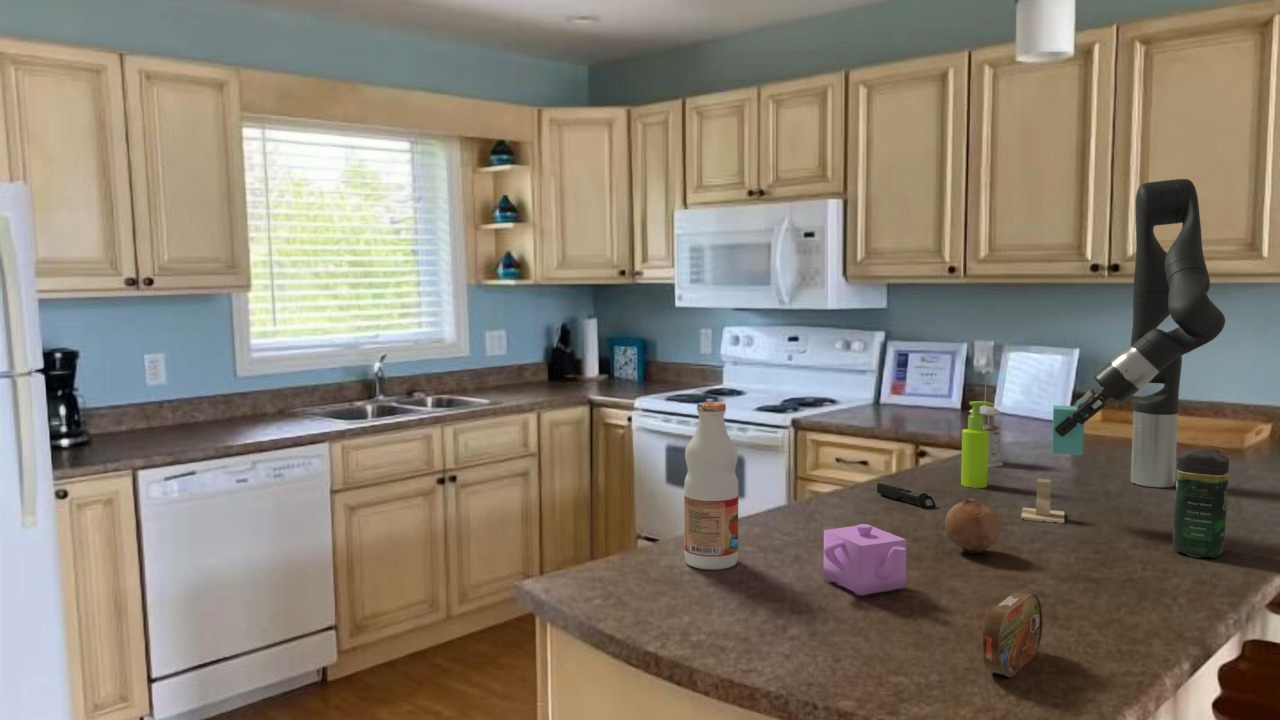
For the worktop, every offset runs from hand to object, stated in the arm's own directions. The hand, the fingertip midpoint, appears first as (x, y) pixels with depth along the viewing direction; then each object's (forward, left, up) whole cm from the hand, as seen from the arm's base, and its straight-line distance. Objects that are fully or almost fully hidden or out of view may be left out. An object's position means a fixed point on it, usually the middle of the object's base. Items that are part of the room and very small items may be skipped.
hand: (1058, 430), depth 188 cm
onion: (+32, -13, -18) cm, 39 cm away
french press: (-54, -18, -18) cm, 60 cm away
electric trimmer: (-2, -30, -19) cm, 36 cm away
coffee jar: (+15, +24, -18) cm, 34 cm away
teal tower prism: (0, +2, -4) cm, 5 cm away
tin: (+80, -4, -18) cm, 82 cm away
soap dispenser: (-25, -17, -18) cm, 36 cm away
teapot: (+59, -27, -18) cm, 68 cm away
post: (0, -2, -18) cm, 18 cm away
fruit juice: (+56, -54, -18) cm, 80 cm away
